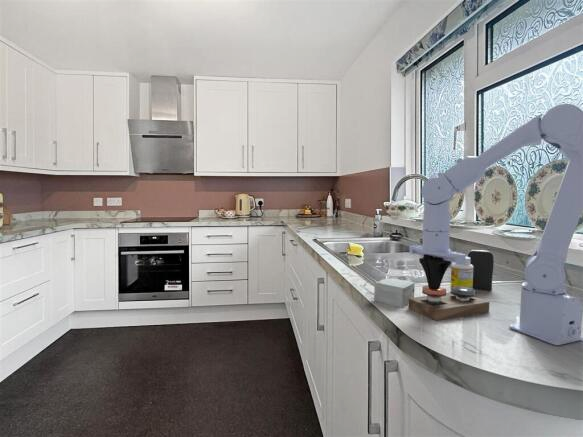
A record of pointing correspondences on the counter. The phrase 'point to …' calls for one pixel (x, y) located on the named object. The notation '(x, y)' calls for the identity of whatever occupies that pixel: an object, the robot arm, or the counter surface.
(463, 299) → the grey metal knob
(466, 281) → the supplement bottle
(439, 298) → the copper knob
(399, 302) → the small box
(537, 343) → the counter surface
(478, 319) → the counter surface
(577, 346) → the counter surface
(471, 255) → the battery charger
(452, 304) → the walnut block
